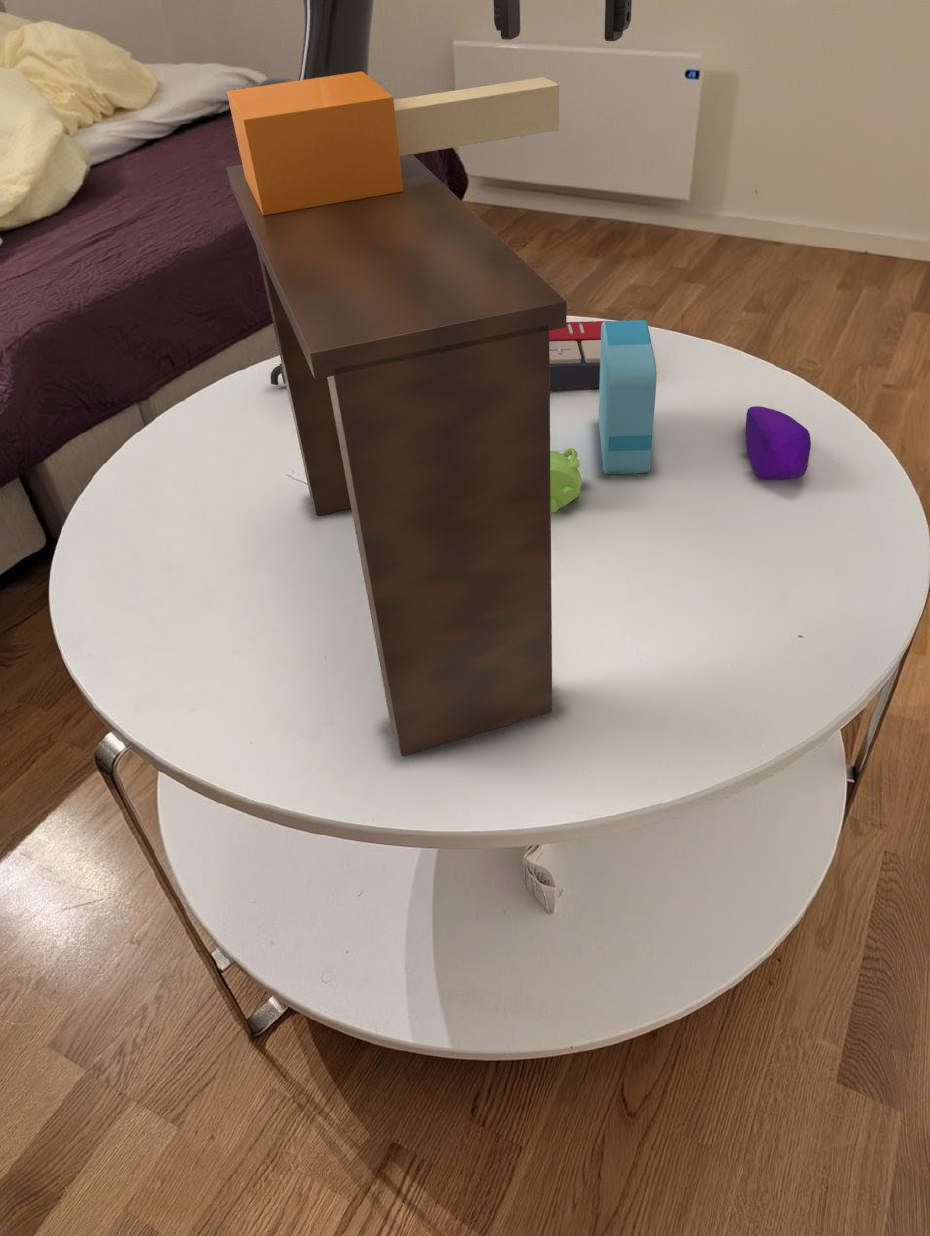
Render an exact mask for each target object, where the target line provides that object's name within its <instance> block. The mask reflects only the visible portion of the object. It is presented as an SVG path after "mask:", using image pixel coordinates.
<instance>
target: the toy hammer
mask: <svg viewBox="0 0 930 1236" xmlns="http://www.w3.org/2000/svg"><path fill="white" fill-rule="evenodd" d="M226 95H227V99H228V104H229V108H230V114H231V118H232V122H233V127H234V132H235V136H236V141H237V146H238V151H239V155H240V160H241V165H243V170H244V174H245V179H246V181H247V183H248V186H249V188H250V190H251V192H252V194H253V196H254V198H255V200H256V202H257V204H258V206H259V208H260V210H261V212H262V215H263V216H265V215H271V214H277V213H282V212H288V211H294V210H300V209H306V208H311V207H317V206H323V205H329V204H335V203H340V202H346V201H352V200H358V199H363V198H369V197H375V196H381V195H387V194H392V193H398V192H403V184H402V174H401V165H400V156H405V155H411V154H413V155H416V154H423V153H429V152H434V151H435V152H436V151H439V150H440V151H441V150H447V149H453V148H459V147H465V146H470V145H471V146H472V145H478V144H483V143H489V142H494V141H502V140H507V139H513V138H519V137H525V136H531V135H537V134H543V133H550V132H557V131H559V130H560V84H558V83H556V82H554V81H553V80H551V79H548V78H547V77H545V76H542V77H535V78H529V79H528V78H527V79H522V80H515V81H508V82H501V83H495V84H489V85H483V86H477V87H470V88H463V89H457V90H450V91H449V90H448V91H444V92H436V93H431V94H423V95H417V96H416V95H415V96H410V97H405V98H397V99H394V96H393V95H392V94H390V93H389V92H388V91H387V90H385V88H384V87H382V86H381V85H379V83H377V82H376V81H375V80H374V79H372V77H370V76H369V74H368V75H366V74H365V73H364V72H362V71H361V72H354V73H348V74H341V75H334V76H327V77H320V78H313V79H306V80H300V81H293V82H286V83H279V84H272V85H265V86H259V87H256V86H252V87H245V88H239V89H231V90H227V91H226Z"/></svg>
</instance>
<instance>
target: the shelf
mask: <svg viewBox="0 0 930 1236" xmlns="http://www.w3.org/2000/svg"><path fill="white" fill-rule="evenodd" d="M400 165H401V174H402V184H403V192H398V193H392V194H387V195H381V196H375V197H369V198H363V199H358V200H352V201H346V202H340V203H335V204H329V205H323V206H317V207H311V208H306V209H300V210H294V211H288V212H282V213H277V214H271V215H265V216H263V215H262V212H261V210H260V208H259V206H258V204H257V202H256V200H255V198H254V196H253V194H252V192H251V190H250V188H249V186H248V183H247V181H246V179H245V174H244V170H243V165H242V164H237V165H236V164H235V165H229V166H226V172H227V177H228V182H229V187H230V188H231V191H232V193H233V195H234V197H235V200H236V202H237V204H238V206H239V209H240V211H241V213H242V216H243V218H244V221H245V223H246V225H247V227H248V230H249V232H250V235H251V237H252V239H253V241H254V243H255V247H256V251H257V256H258V260H259V265H260V269H261V274H262V278H263V279H262V280H263V284H264V288H265V292H266V299H267V302H268V306H269V312H270V316H271V320H272V326H273V330H274V334H275V335H274V336H275V338H276V345H277V349H278V353H279V358H280V364H281V363H282V367H283V372H284V376H285V381H286V384H285V385H286V389H287V394H288V400H289V404H290V409H291V413H292V417H293V422H294V426H295V430H296V431H295V432H296V436H297V442H298V445H299V450H300V455H301V460H302V464H303V469H304V473H305V478H306V482H307V488H308V491H309V492H308V493H309V496H310V500H311V503H312V506H313V509H314V513H315V515H316V516H317V517H318V516H322V515H326V514H331V513H334V512H335V513H336V512H339V511H343V510H347V509H351V514H352V520H353V526H354V530H355V537H356V543H357V545H358V546H357V547H358V553H359V559H360V564H361V569H362V575H363V580H364V586H365V590H366V591H365V592H366V596H367V602H368V608H369V612H370V613H369V614H370V619H371V625H372V629H373V636H374V641H375V647H376V651H377V656H378V662H379V668H380V673H381V679H382V685H383V691H384V695H385V696H384V697H385V701H386V706H387V711H388V712H387V713H388V717H389V722H390V727H391V731H392V734H393V736H394V739H395V742H396V745H397V748H398V752H399V754H400V756H406V755H409V754H413V753H416V752H419V751H424V750H427V749H430V748H433V747H436V746H440V745H443V744H447V743H450V742H454V741H457V740H461V739H464V738H468V737H471V736H474V735H478V734H481V733H485V732H488V731H492V730H495V729H499V728H501V727H502V728H503V727H506V726H508V725H512V724H516V723H519V722H522V721H526V720H530V719H533V718H537V717H539V716H543V715H546V714H550V713H553V643H552V642H553V625H552V622H553V619H552V618H553V617H552V615H553V614H552V611H553V609H552V607H553V606H552V512H551V477H550V451H551V389H550V351H549V331H551V330H556V329H561V328H566V326H567V322H568V321H567V320H568V319H567V313H568V311H567V310H568V309H567V308H568V307H567V306H568V305H567V304H568V302H567V300H566V299H565V298H564V297H563V296H561V294H560V293H559V292H557V290H555V288H553V287H552V286H551V285H550V284H549V283H548V282H547V281H546V280H545V279H544V278H543V277H542V276H541V275H540V274H538V272H536V270H534V269H533V268H532V267H531V266H530V265H529V264H528V262H526V261H525V260H524V259H523V258H522V257H521V256H520V255H519V254H518V253H516V252H515V251H514V250H513V248H511V246H509V245H508V244H507V243H506V242H505V241H504V240H503V239H502V238H501V237H500V236H499V235H498V234H497V233H495V232H494V231H493V229H492V228H491V227H489V225H487V224H486V223H485V222H484V221H483V220H482V219H481V218H480V217H479V216H477V214H476V213H474V211H473V210H471V208H469V206H467V204H465V203H464V202H463V201H462V200H461V199H460V198H459V197H458V196H457V195H456V194H455V193H454V192H453V191H452V190H450V189H449V187H447V185H445V183H443V182H442V181H441V180H440V179H439V178H438V177H437V176H436V175H435V174H434V173H433V172H432V171H430V169H428V168H427V167H426V166H425V165H424V164H423V163H422V162H421V161H420V160H419V159H418V158H417V157H416V156H415V154H411V155H405V156H400Z"/></svg>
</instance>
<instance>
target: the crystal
mask: <svg viewBox="0 0 930 1236" xmlns="http://www.w3.org/2000/svg"><path fill="white" fill-rule="evenodd" d="M745 440H746V451H747V455H748V459H749V463H750V466H751V468H752V470H753V472H754V473H755V475H756V476H757V478H758V479H759V480H763V481H790V480H795V479H799V478H802V477H803V476H805V474H806V472H807V470H808V467H809V460H810V454H811V448H812V439H811V434H810V431H809V430H808V429H807V427H805V426H804V425H803V424H801V423H799V422H798V421H797V420H795V419H794V418H793V417H792V416H790V415H788V414H786V413H784V412H782V411H779V410H777V409H773V408H769V407H766V406H760V405H753V406H750V407H749V408H747V410H746V417H745Z"/></svg>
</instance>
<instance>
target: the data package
mask: <svg viewBox="0 0 930 1236" xmlns="http://www.w3.org/2000/svg"><path fill="white" fill-rule="evenodd" d="M606 321H607V322H603V323H602V326H601V353H600V387H598V388H599V391H598V428H599V438H600V450H601V458H602V468H603V473H604V474H605V475H611V474H612V475H613V474H614V475H617V474H618V475H619V474H647V473H649V472H650V469H651V462H652V461H651V460H652V448H653V433H654V421H655V407H656V394H657V393H656V392H657V377H658V376H657V361H656V358H655V357H656V356H655V352H654V349H653V348H654V347H653V343H652V337H651V334H650V328H649V323H648V321H647V320H646V319H633V320H632V319H631V320H606Z"/></svg>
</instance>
